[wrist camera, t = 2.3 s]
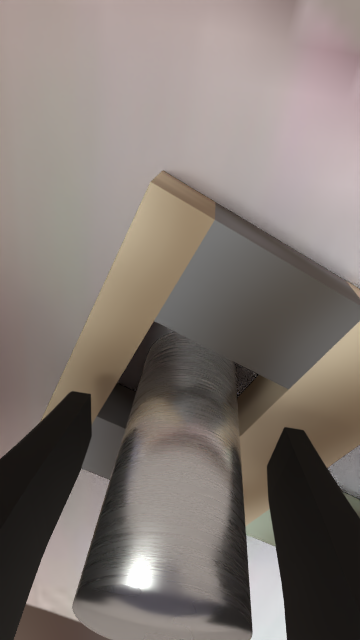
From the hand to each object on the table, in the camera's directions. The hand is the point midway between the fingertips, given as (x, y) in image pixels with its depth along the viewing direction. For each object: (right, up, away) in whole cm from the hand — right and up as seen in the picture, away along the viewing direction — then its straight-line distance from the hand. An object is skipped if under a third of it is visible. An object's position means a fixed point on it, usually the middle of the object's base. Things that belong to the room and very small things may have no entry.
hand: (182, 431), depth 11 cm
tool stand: (+4, 0, +3) cm, 6 cm away
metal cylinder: (0, +2, +3) cm, 3 cm away
